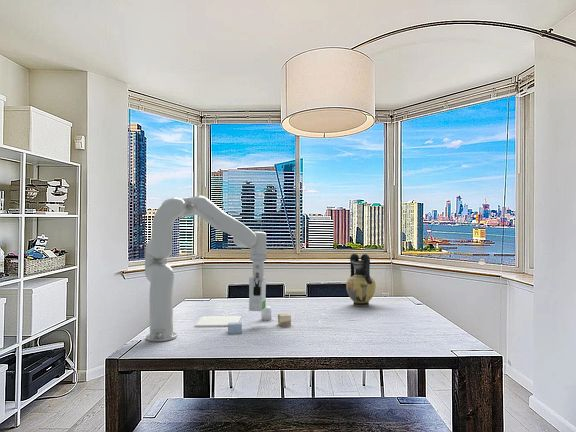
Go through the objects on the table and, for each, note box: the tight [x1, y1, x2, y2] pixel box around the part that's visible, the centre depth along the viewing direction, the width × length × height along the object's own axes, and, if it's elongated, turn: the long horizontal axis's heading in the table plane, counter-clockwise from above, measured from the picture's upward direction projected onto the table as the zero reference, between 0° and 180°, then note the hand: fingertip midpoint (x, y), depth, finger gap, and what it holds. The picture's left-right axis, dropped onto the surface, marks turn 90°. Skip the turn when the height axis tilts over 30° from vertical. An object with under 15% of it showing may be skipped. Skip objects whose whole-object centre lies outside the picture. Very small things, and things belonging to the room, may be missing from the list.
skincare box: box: [248, 276, 267, 312], centre depth 209 cm, size 8×7×16 cm
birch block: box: [277, 312, 292, 327], centre depth 210 cm, size 5×5×5 cm
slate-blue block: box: [227, 321, 243, 334], centre depth 196 cm, size 4×6×4 cm, turn 97°
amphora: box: [345, 253, 376, 307], centre depth 259 cm, size 18×17×30 cm
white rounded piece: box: [260, 305, 272, 321], centre depth 223 cm, size 5×5×6 cm
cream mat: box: [194, 315, 242, 328], centre depth 217 cm, size 20×20×1 cm
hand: (257, 294), depth 209 cm, fingers closed on skincare box, 9 cm apart
